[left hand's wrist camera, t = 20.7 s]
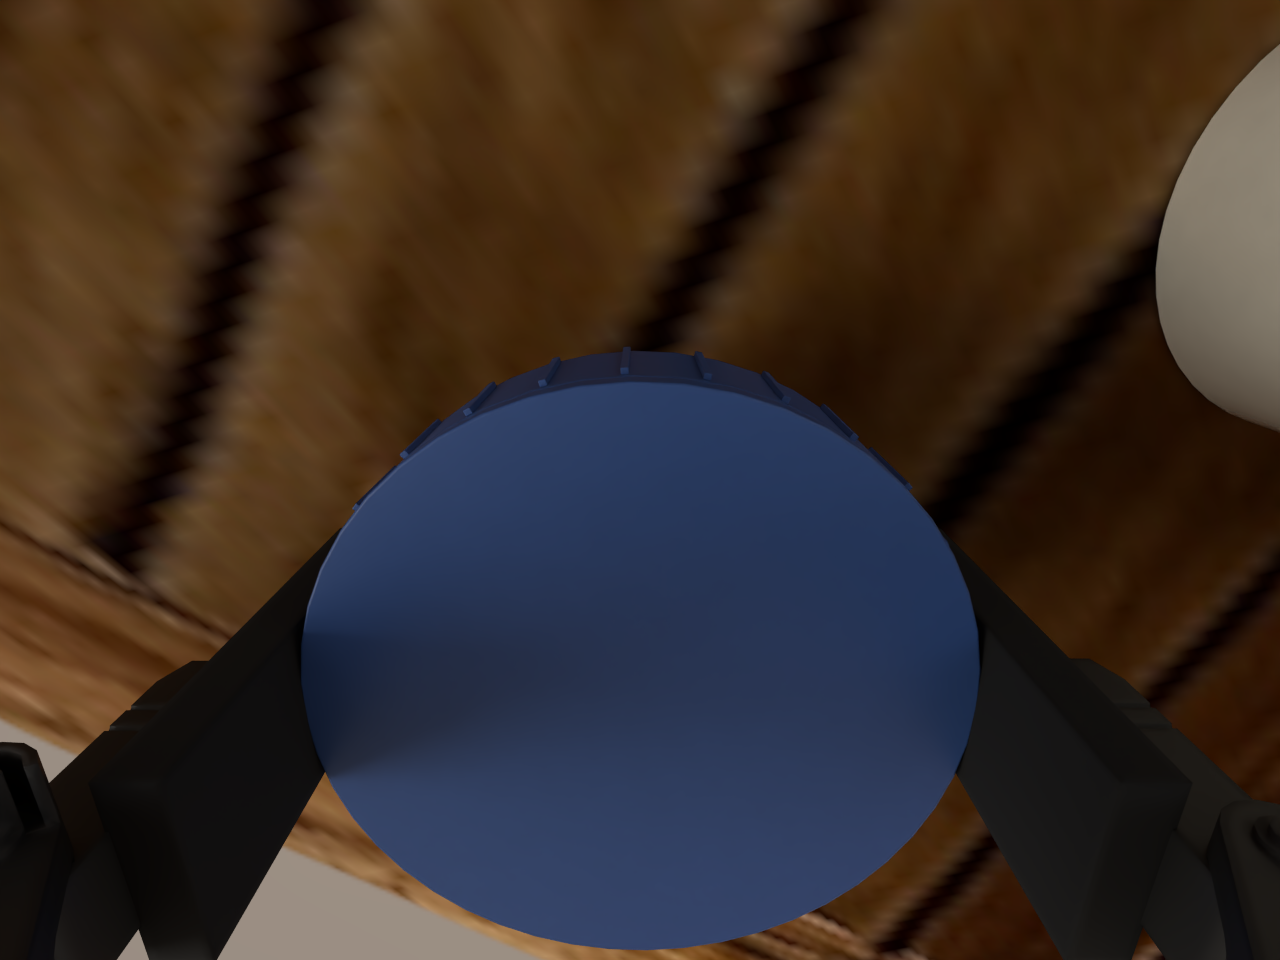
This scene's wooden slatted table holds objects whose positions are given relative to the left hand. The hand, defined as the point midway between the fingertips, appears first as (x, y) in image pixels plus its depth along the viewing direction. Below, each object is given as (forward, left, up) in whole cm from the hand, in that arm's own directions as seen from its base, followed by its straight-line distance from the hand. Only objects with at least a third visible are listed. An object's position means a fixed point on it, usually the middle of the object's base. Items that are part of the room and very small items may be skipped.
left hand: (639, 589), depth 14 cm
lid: (0, 0, +3) cm, 3 cm away
